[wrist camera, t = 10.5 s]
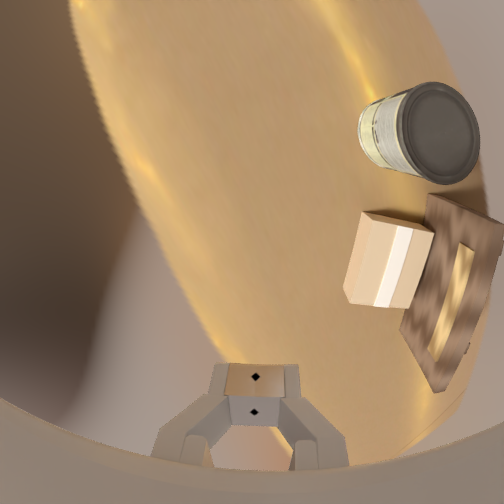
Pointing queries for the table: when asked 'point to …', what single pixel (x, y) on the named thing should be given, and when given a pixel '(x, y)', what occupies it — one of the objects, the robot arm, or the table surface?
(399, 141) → the coffee can
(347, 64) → the table surface
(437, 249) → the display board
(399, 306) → the carton
